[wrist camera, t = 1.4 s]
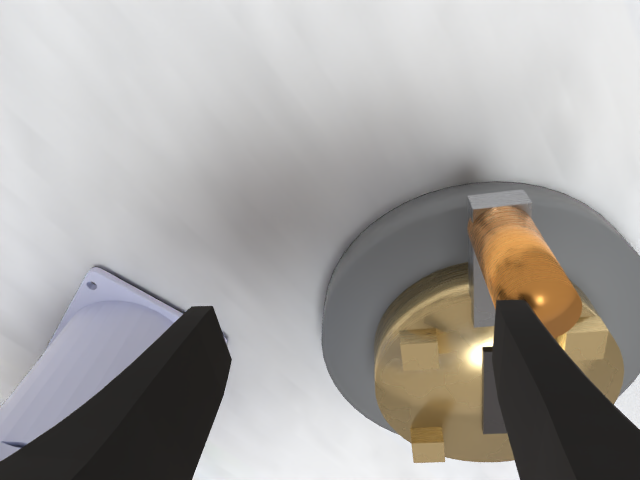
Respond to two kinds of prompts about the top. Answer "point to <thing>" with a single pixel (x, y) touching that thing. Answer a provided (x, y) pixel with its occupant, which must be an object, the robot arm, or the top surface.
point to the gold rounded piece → (480, 335)
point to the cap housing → (451, 249)
